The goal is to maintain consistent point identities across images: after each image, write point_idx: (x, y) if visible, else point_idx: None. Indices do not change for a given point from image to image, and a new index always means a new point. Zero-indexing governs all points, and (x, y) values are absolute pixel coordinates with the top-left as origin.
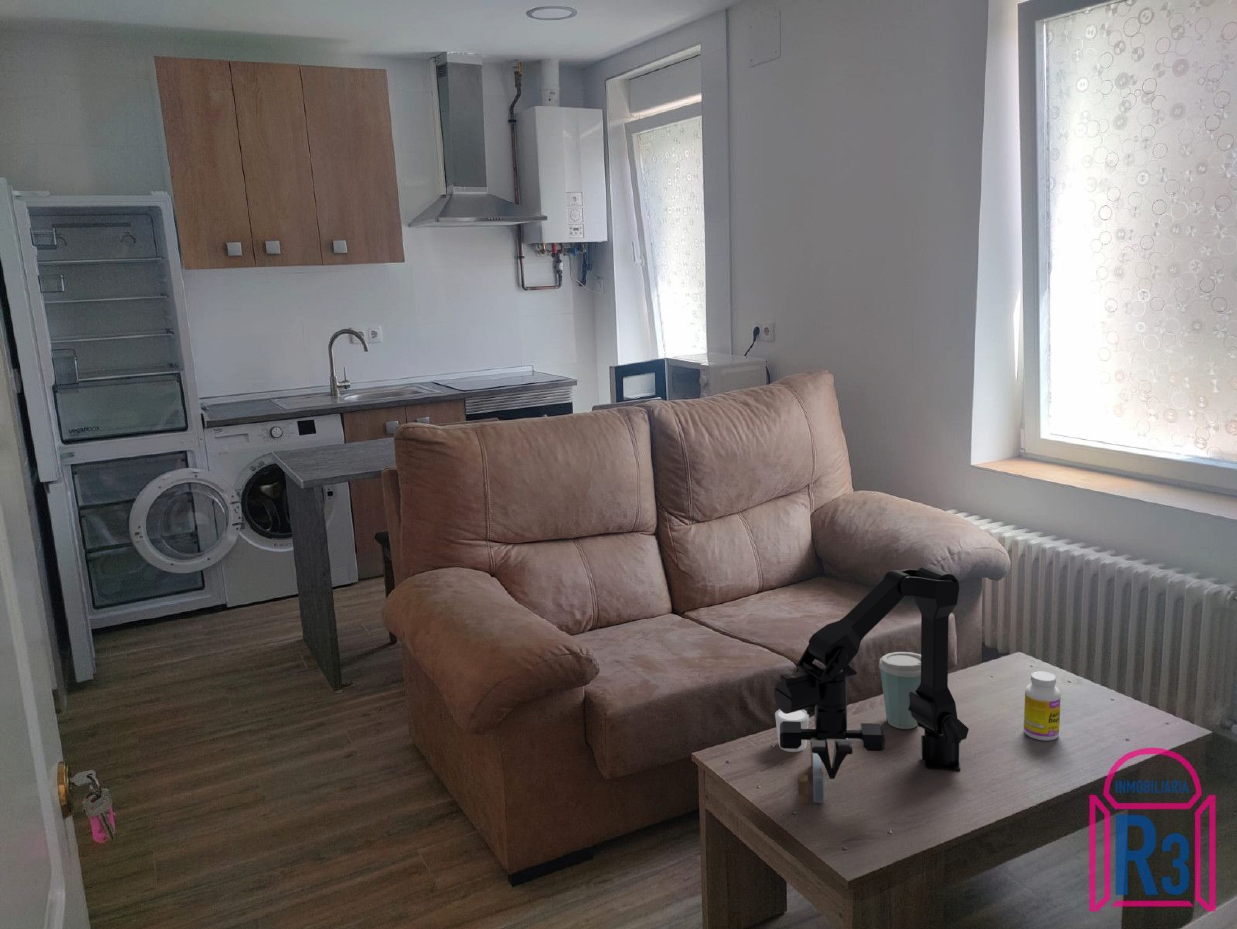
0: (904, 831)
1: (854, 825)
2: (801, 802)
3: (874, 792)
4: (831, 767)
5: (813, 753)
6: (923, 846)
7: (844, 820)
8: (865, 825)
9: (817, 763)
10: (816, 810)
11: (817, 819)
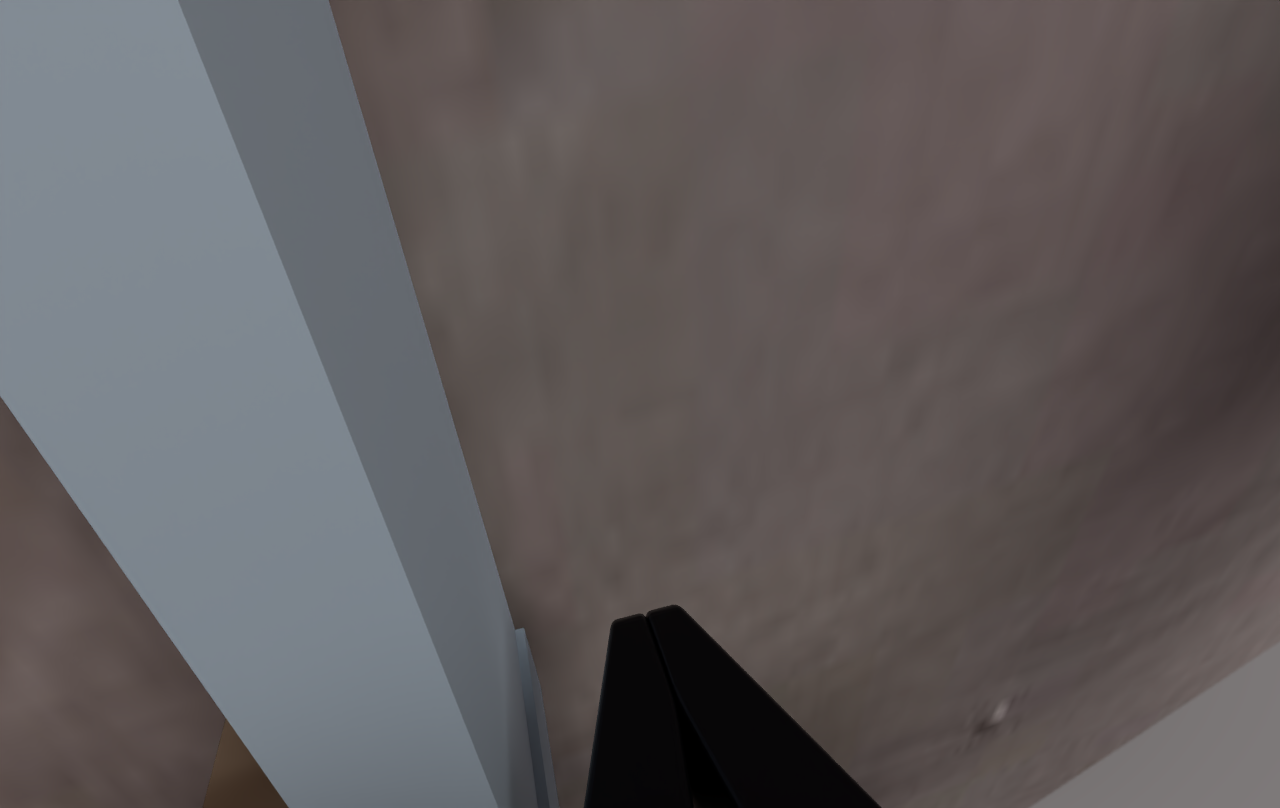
0: (1079, 685)
1: None
2: None
3: (1042, 294)
4: (682, 743)
5: (74, 467)
6: (1122, 745)
7: None
8: (857, 725)
9: (392, 800)
10: None
11: None
